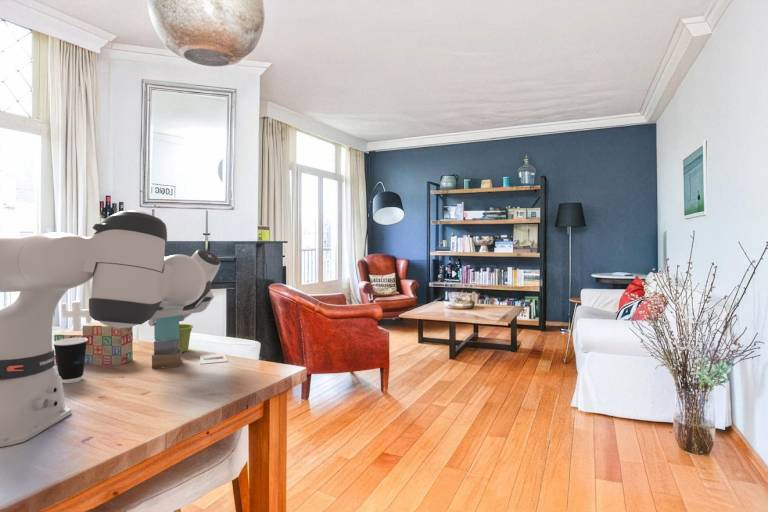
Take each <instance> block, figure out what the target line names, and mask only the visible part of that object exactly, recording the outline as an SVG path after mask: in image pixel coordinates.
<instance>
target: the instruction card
mask: <svg viewBox="0 0 768 512" xmlns="http://www.w3.org/2000/svg"><path fill="white" fill-rule="evenodd" d="M227 362H228V358H227V356H226V353H217V354H206V355H199V363H200V365H205V364H208V363H209V364H217V363H227Z"/></svg>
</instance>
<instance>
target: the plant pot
mask: <svg viewBox="0 0 768 512" xmlns="http://www.w3.org/2000/svg"><path fill="white" fill-rule="evenodd" d="M193 328H194V325H192V324H188V323H179V340H180V349H182V353H183V352H184V353H185V352H188V351H189V344H190V339H191V332H192V329H193Z"/></svg>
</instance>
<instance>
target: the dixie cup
mask: <svg viewBox="0 0 768 512" xmlns="http://www.w3.org/2000/svg"><path fill="white" fill-rule="evenodd" d="M87 341H88V339H87V338H67V339H61V340H57V341H54V340H53V342H52V345H53V347H54V355H56V361H57V363H56V367H57V372H58V373H57V374H58V375H59V376H60V377H61V378H62V384H70V383H71V384H72V383H76V382H79V381H81V380H82V379H83V375H84V369H85V364H84V361H85V352H86V343H87Z"/></svg>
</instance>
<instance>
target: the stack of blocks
mask: <svg viewBox="0 0 768 512" xmlns="http://www.w3.org/2000/svg"><path fill="white" fill-rule="evenodd" d="M133 328H134V326H132V327H127V328H115V327H110V326H107V325H104V324H102V323H100V322H99V321H95V322H91V323H89V324H88V323H86V324H83V325H82V329H83V331H67V330H65V331H66V332H65V331H62V332H60V333H57V334H53V336H54V339H53V342H54V341H57V340H61V339H67V338H87V339H88V341H87V343H86V352H85V361H84V365H101V364H102V365H105V366H106V365H107V366H122V365H125V364H126V362H127V363H128V361H129V362H131V361H133V356H134V354H133V342H134V341H133V340H134V339H133V336H134V334H133ZM54 355H55V354H54ZM55 364H57V361H56V355H55Z"/></svg>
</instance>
